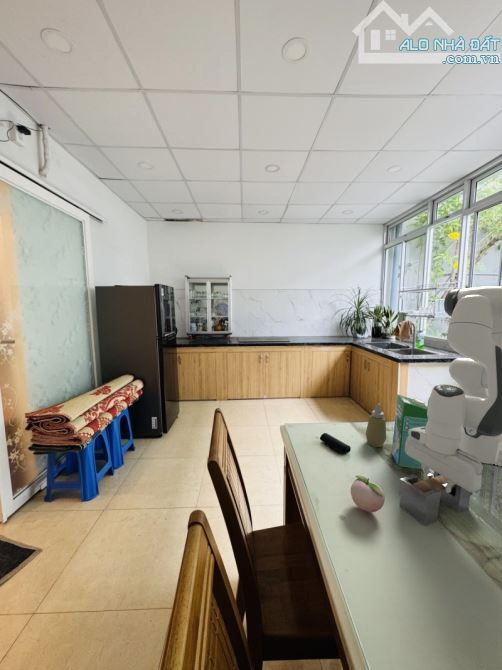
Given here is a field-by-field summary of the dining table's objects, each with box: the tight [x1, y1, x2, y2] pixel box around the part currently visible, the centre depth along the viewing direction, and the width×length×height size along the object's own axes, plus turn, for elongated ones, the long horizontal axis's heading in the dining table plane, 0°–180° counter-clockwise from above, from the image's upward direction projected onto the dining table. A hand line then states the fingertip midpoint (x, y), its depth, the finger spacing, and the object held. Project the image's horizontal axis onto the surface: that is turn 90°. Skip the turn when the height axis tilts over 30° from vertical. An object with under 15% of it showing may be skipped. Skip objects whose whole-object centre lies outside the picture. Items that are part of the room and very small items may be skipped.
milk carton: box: [391, 394, 428, 470], centre depth 104 cm, size 9×9×25 cm
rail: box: [412, 475, 457, 493], centre depth 81 cm, size 17×4×4 cm
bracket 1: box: [398, 474, 441, 527], centre depth 79 cm, size 6×8×9 cm
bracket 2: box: [433, 470, 474, 513], centre depth 84 cm, size 6×8×9 cm
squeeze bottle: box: [365, 403, 387, 448], centre depth 117 cm, size 8×8×18 cm
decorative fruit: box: [350, 474, 386, 513], centre depth 79 cm, size 9×8×10 cm
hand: (436, 485), depth 81 cm, fingers open, 4 cm apart
